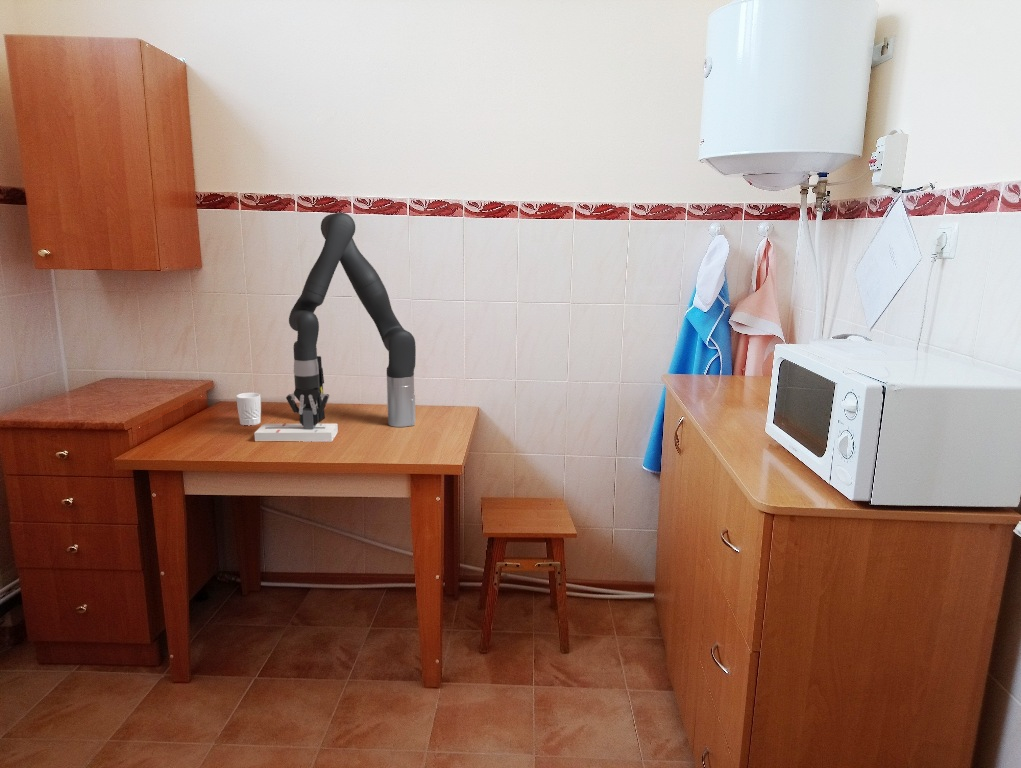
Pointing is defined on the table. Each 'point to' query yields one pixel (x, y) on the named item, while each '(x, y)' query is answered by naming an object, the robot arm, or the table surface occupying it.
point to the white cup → (249, 408)
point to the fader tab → (308, 418)
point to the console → (296, 433)
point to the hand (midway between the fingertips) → (309, 424)
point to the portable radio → (321, 382)
